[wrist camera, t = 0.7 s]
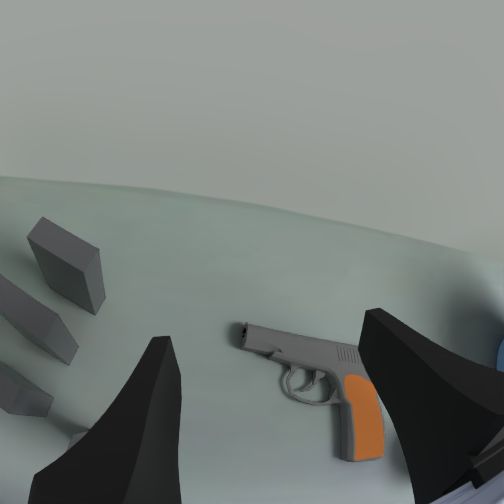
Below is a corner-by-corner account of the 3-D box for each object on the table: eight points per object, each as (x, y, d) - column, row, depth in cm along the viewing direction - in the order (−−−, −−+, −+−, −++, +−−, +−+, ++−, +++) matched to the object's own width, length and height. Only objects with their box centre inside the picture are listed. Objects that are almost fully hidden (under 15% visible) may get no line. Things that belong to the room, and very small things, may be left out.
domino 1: (69, 365, 20) (43, 341, 14) (22, 334, 20) (-15, 298, 13) (78, 346, 21) (58, 314, 15) (32, 316, 21) (0, 274, 14)
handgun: (224, 458, 21) (242, 325, 28) (377, 458, 25) (379, 351, 32) (231, 461, 20) (249, 319, 26) (388, 458, 23) (389, 347, 30)
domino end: (95, 315, 23) (83, 272, 17) (50, 287, 22) (26, 236, 16) (105, 297, 24) (99, 249, 18) (60, 271, 23) (42, 216, 17)
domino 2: (45, 416, 17) (9, 413, 11) (-2, 383, 17) (-49, 363, 10) (54, 397, 18) (20, 386, 12) (7, 365, 18) (-37, 338, 11)
